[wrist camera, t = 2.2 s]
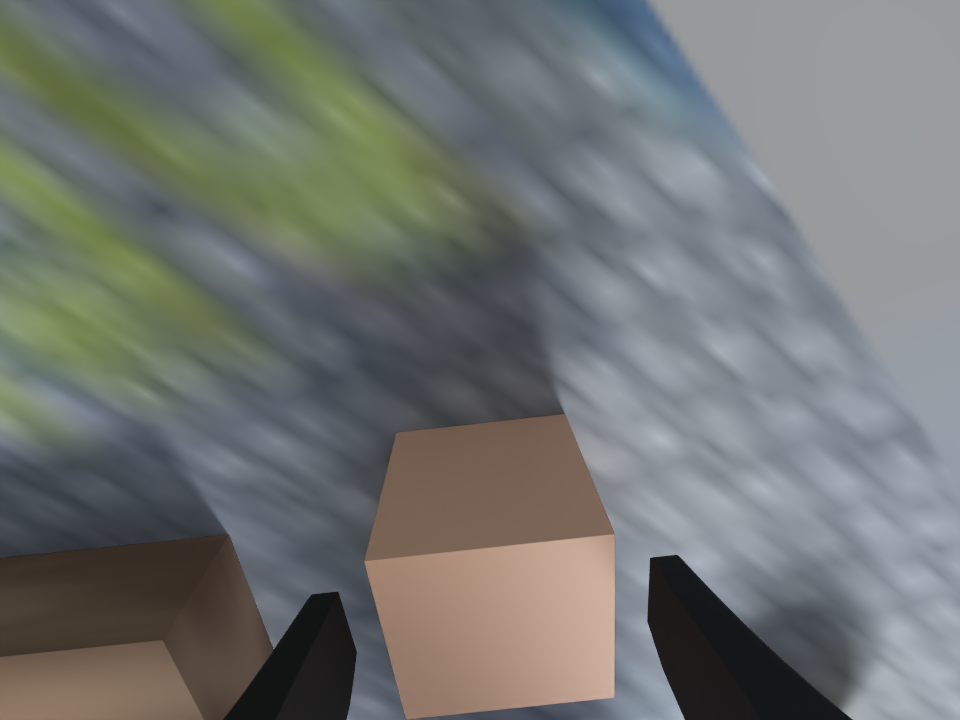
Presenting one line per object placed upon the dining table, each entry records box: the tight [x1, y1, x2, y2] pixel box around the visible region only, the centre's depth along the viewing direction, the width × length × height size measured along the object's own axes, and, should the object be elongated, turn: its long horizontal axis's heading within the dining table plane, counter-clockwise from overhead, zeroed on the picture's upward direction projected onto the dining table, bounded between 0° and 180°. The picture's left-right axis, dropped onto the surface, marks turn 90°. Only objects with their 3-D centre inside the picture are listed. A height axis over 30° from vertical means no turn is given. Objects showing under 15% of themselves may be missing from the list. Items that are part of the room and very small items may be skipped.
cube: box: [364, 414, 615, 720], centre depth 13 cm, size 5×5×5 cm
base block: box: [0, 535, 274, 720], centre depth 16 cm, size 11×11×4 cm
